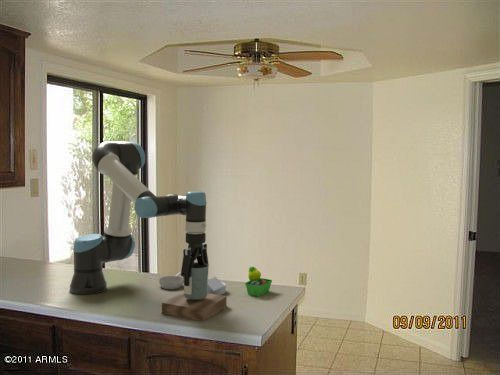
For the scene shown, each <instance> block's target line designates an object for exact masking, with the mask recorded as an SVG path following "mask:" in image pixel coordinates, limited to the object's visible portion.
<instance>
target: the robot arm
mask: <svg viewBox="0 0 500 375" xmlns="http://www.w3.org/2000/svg"><path fill="white" fill-rule="evenodd" d="M91 161H92V164H93V166H94V167H95V169H96V170H97V171H98V173H100V174H101V175H105V176H106V177H107V178H109V179H110V181H112V187H111V188H112V189H111V190H112V191H111V196H110V197H111V198H110V208H109V215H108V226H107V227H106V228H105V229H104V231H103V235H102V234H100V233H92V234H91V233H89V234H84V235H80V236H78V237H76V238H75V240H74V242H73V250H72V251H73V275H72V278H71V283H70V284H69V292H70V293H71V294H75V295H93V294H94V295H95V294H99V293H102V292H104V291H106V290H107V289H108V285H107V281H106V278H105V275H104V272H103V264H106V263H111V262H116V261H118V262H119V261H123V260H125V259H128V258H130V257H131V256H132V255H133V253H134V251H135V247H136V242H135V238H134V236H133V235H132V234H131V233H132V232H131V230H130V229H129V220H130V214H131V207H132V206H131V203H133V204H134V207H133V208H134V211H135V214H136V215H137V217H139V218H142V219H150V218H151V219H152V218H157V217H164V216H165V217H167V216H173V215H181V216H185V243H186V244H188V247H187V249H185V248H184V249H183V252H182V254H183V256H182V262H181V263H182V264H181V270H180V271H181V274H180V277H182V278H183V277H184V283H183V292H184V294H190V295H191V294H192V277H190V276H191V272H192V271H191V268H193V265H194V262H195V261H197V262H198V264H199V265H204V263H206V264H208V265H209V256H208V250H207V249H208V244H207V243H206V241H207V240H206V237H207V236H206V227H207V224H206V222H207V220H206V216H207V194H206V192H204V191H200V190H199V191H198V190H195V191H194V190H192V191H190V190H189V191H187V192H186V193H185V195H183V194H178V193H177V194H176V193H173V194H172V193H170V194H167V195H161V196H160V195H159V196H156V195H155V194H154V193H153V192H152V191H151V190H150V189H149V188H148V187H147V186H146V185H145V184H144V183H142V182H141V181H140V179H138V177H137V176H138V174H139V170H140V169H142V168H143V167H144V166H145V163H146V153H145V150H144V149H143V147H142V145H140V144H139V143H137V142H134V141H113V140H111V141H103V142H100V143H99V144H98V145H96V146H95V148H94V149H93V152H92V155H91ZM209 266H210V265H209Z"/></svg>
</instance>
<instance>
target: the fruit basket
mask: <svg viewBox="0 0 500 375" xmlns="http://www.w3.org/2000/svg"><path fill="white" fill-rule="evenodd" d="M247 276H248V279H249V281H246V282H244V285H245V288H246V291H247V294H248V295H249V296H253V297H260V296H262V295H265V294H266V293H269V292H270V288H271V284H272V282H273V280H272V279H268V278H263V277H261V276H262V274H261V272H260V270H258V269H257V268H256V267H255V266H249V268H248V274H247Z"/></svg>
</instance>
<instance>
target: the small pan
mask: <svg viewBox="0 0 500 375" xmlns="http://www.w3.org/2000/svg"><path fill="white" fill-rule="evenodd" d="M158 282H159V283H158V284H159V285H160V288H163V289H165V290H175V289H180V288H181V287H182V285H184V283H183V277H182V276H181V270H180V271H179V272H177V273H176V274H175V275H166V276H161V277H160V278H158Z"/></svg>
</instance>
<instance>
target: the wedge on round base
mask: <svg viewBox="0 0 500 375" xmlns="http://www.w3.org/2000/svg"><path fill="white" fill-rule="evenodd" d="M207 282H208V283H207V293H209V294H215V295H223V294H225V293H226V290H227V289H226V288H227V287H226V286H227V285H226V283H225V282H223V281H220V280H219V279H218V277H216V276H214V277H211V278H209V279H208V280H207Z"/></svg>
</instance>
